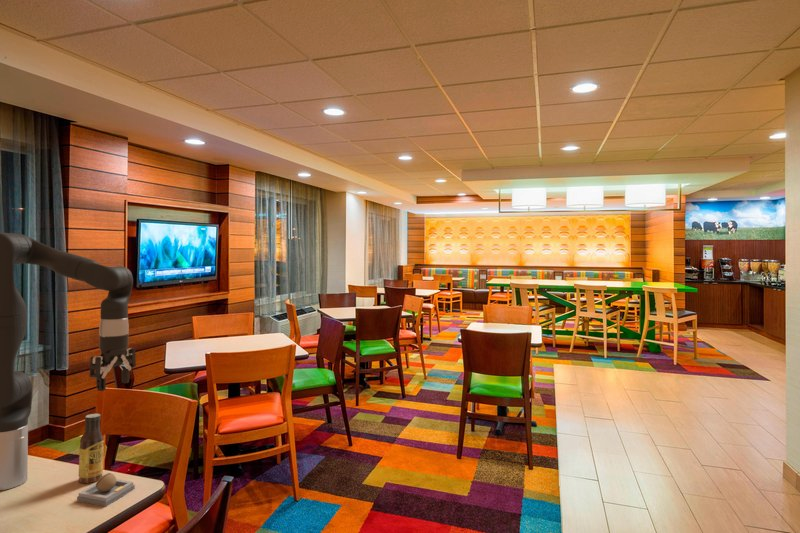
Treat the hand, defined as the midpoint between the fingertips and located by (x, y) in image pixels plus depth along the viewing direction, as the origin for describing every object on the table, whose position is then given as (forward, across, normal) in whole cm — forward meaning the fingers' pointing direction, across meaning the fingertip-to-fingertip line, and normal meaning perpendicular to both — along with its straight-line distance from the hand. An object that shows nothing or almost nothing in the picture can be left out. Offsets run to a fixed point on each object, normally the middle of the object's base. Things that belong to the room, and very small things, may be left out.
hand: (113, 386), depth 139 cm
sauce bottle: (+30, -1, -9) cm, 32 cm away
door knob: (+29, +5, +3) cm, 30 cm away
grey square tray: (+30, +5, +3) cm, 31 cm away
